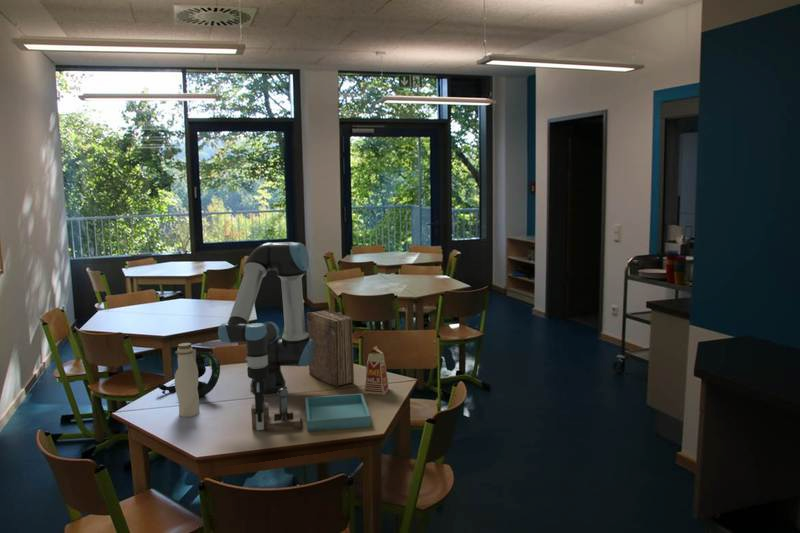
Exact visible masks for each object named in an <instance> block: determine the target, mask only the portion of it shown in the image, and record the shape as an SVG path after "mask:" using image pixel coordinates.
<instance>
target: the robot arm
mask: <svg viewBox="0 0 800 533" xmlns="http://www.w3.org/2000/svg"><path fill="white" fill-rule="evenodd" d="M309 263H310V259H309V253H308V250H307V247H306V246H305V244H303V243H301V242H295V241H294V242H293V241H284V242H282V241H281V242H276V241H275V242H265V243H262V244H260V245H259V246H257V247H256V248H255V249H254V250H253V251H252V252H250V254H249V255H248V257H247V258H246V260H245V262H244V265H243V271H244V273H243V276H242V279H241V282H240V285H239V289H238V291H237V295H236V298H235V300H234V304H233V305H232V306H233V307H232V310H231V312H230V315H229V318H228V320H227V322H223V323H220V325H219V327H218V330H217V336H218V339H219V341H221V343H226V344H245V346H246V357H245V358H244V360H245V361H247V362H246V363H247V364H246V365H247V377H248V378H249V379H251V381H250V384H249V386H250V392H253V394H254V404H255V409H256V411H255V412H254V414H256V428H257V429H256V431H265V429H264V415H263V403H267V402H266V401H265V399H264V394H273V393H277V392H278V390H279V389H281V388H285V389H286V379H285V377H284V375H283V372H282V370H281V368H282V367H299V368H301V367H309V364H310V363H311V361H312V359H313V355H314V348H315V344H314V340H312V339H309V334H308V333H307V330H306V323H305V322H306V321H305V307H304V295H303V294H304V292H303V281H302V278H303V276H305V274H306V271H307V270H308V268H309ZM269 271H276V276H277V277H278V278H280V282H281V285H280V286H281V295H282V309H283V310H282V311H283V321H284V322H283V323H284V333H283V334H282V335H281V337H280V335H279V334H280V328H279V326H278V325H277V323H275V322H274V321H265V322H263V323H262V322H255V323H254V322H253V323H249V321H250V320H251V319H250V318H251V315H252V313H253V310H254V305H255V303H256V300H257V296H258V293H259V290H260V288H261V284H262V281H263V278H264V277H266V276H267V273H268V272H269Z"/></svg>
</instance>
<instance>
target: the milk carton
mask: <svg viewBox="0 0 800 533" xmlns="http://www.w3.org/2000/svg"><path fill="white" fill-rule="evenodd" d="M372 348H373V349H372V350H371V351H370V352H369V353H368V358H367V362H366V369H365V370H366V374H365V375H366V376H365V385H364V389H363V394H368V393H369V394H370V393H371V394H372V395H383V394H385V395H386V393H387V392H388V390H389V379H388V373H387V367H386V366H387V365H386V361H385V356H384V352H382V351H381V350H380V349H378V346H377V345H376V346H373V347H372Z"/></svg>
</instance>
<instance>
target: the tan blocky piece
mask: <svg viewBox="0 0 800 533" xmlns="http://www.w3.org/2000/svg"><path fill="white" fill-rule="evenodd" d="M250 408H251V412H250V413H251V414H250V415H251V428H252V429H251V430H254V431H255V430H257V428H256V414H254V412H255V411H256V409H255V403H252V404H251V407H250ZM263 415H264V430H266V432H267V433H270V432H280V431H281V432H284V431H294V430H297V431H298V430H301V410H299V409H295V410H288V420H280V414H279V411H273V412H272V411H270V410H269V402H266V403H263Z"/></svg>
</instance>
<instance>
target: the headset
mask: <svg viewBox="0 0 800 533" xmlns="http://www.w3.org/2000/svg"><path fill="white" fill-rule="evenodd" d="M206 358H208V359H209V360H210V362H211V363H210V366H211V375H210V377H209V380H208V382H204V381H199V380H198V388H197V390H198V396H199V397H201V396H206V395H208V394H209V393H211V391H213V389H214V388H215V386H216V385H217V383H218V381H219V379H220V378H219V377H220V374H221V373H220V372H221V363H220V360H219V358H218V356H216V355H215V354H213V353H208V352H205V351H203V352H200V353H196V365H197V368H198V379H200V378H201V377H203V376H204V375H205V373H206V372H207V371H206V370H207V369H206V368H207V367H206V365H205V360H204V359H206ZM156 386H157V388H158V390H161V393H162V394H163V395H166V396H167V393H166V391H167V392H169V393H172V392H176V389H175V382H174V383H172V384H170V385H169V386H167V385H165V384H163V383H158V384H157V385H156Z"/></svg>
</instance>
